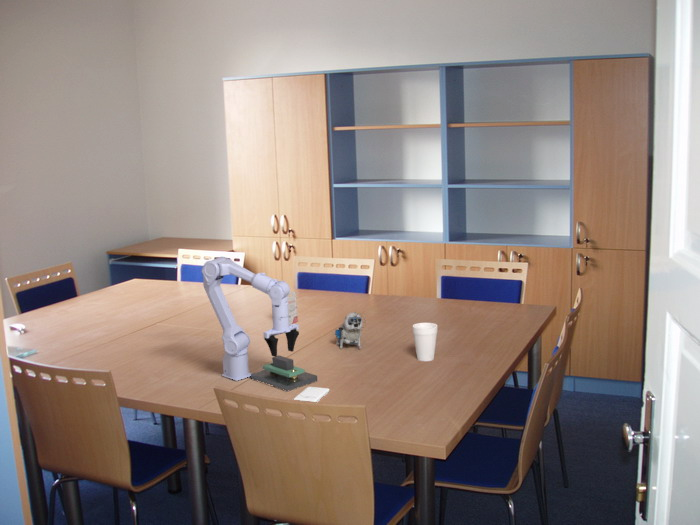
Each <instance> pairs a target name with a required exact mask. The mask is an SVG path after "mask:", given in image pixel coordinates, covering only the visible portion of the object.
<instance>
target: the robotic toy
mask: <svg viewBox="0 0 700 525" xmlns="http://www.w3.org/2000/svg"><path fill="white" fill-rule="evenodd" d="M360 315H361V313H360V312H358V313H357V312H355V311H353V312H349V313H347V315H346V316H345V317H344V321H343V323H342V324H341V325H340V327H338V329H335V330H334V335H335V336H336V338H337V339H336V343H335V344H336V346H339V349H340V350H343V344H346V345H357V348H358V349H359V350H360V349H362V346H361V338H362V332H363V328H365V326H363V323H366V320H365V317H364V316H360ZM362 317H363V319H362Z"/></svg>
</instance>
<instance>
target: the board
mask: <svg viewBox="0 0 700 525" xmlns="http://www.w3.org/2000/svg"><path fill="white" fill-rule="evenodd" d="M271 359H272V362H269V363H266V364H263V365H262V366H261V368H262V370H268V371H271V372H274V373H277V374H280V375H283V376H286V377H289V378H290V377H293V376H296V375H299V374H302V373H305V372H306V371H305V368H301V367H298V366H295V365H294V359H292V358H289V357H285V356H283V355H277V356H276V357H274V356H272V357H271ZM292 369H294V370H295V371H294V372H292Z"/></svg>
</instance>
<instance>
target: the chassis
mask: <svg viewBox="0 0 700 525" xmlns="http://www.w3.org/2000/svg"><path fill="white" fill-rule="evenodd" d="M294 371H295V370H294V369H292V372H294ZM251 378H252V379H254V380H253V381H255V380H258V381H261V382H264V383H267V384H270V385H273V386H275V387H278V388H281V389H284V390H286V391H285V392H289V391H288V390H290V391H292V390H291V389H293V390H295V389H294V388H296V389H298V388H297V387H299V388H302V387H304V386H303V385H305V386H307V385H306V384H308V385H310V384H313V383H316V382H318V375H316V374H313V373H310V372H306V371H305V373H302V374H299V375H296V376H293V377H290V378H289V377H286V376H283V375H280V374H277V373H274V372H271V371H268V370H265V369H262V370H259V371H256V372H252V373H251V377H250V379H251ZM252 379H251V380H252ZM258 381H257V382H258ZM315 381H316V382H315ZM261 382H260V383H261ZM312 382H313V383H312ZM309 383H310V384H309ZM301 386H302V387H301ZM275 387H274V388H275ZM278 388H277V389H278ZM281 389H280V390H281ZM284 390H283V391H284Z"/></svg>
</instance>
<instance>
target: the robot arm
mask: <svg viewBox="0 0 700 525" xmlns="http://www.w3.org/2000/svg"><path fill="white" fill-rule="evenodd" d="M201 273H202V276H203V277H202V278H203V280H202V282H203V284H202V286H203V289H204V290H205V293H206V296H207V298H208V300H209V302H210V304H211V306H212V309H213V310H214V313H215V315H216V317H217V319H218V322H219V324H220V327H221V328H222V336H221V340H222V342H223V350H224V354H223V356H222V368H223V371H222V372H223V373H222V374H221V376H222V377H224V378H227V379H229V378H230V380H232V379H233V381H236V382H239V381H242V380H244V379H248V378H251V377H250V376H251V374H252V373H251V372H250V371H249V370H250V369H249V354H248V352H249V351H248V347H249V346H250V344H251V338H250V336H249V335H248V334H247V332H246V331H245V330H244V328H243V327H242V326H241V325H238V323H237V321H236V319H235V316H234V314H233V312H232V310H231V308H230V306H229V302H228V301H227V298H226V296H225V294H224V292H223V289H222V288H221V284H222V281H223V279H224V277H225V276H229V275H231V276H234V277H236V278H239V279H240V280H241V279H242V280H244V281H246V282H249V283H250V284H251V286H252V288H254V289H256V290H258V291H260V292H262V293H264V294H265V295H268V296H269V299H270V300H271V309H272V310H271V311H272V328H270V329H268V330H266V331H263V332H262V333H263V339H264V341H265V342H266V344H267V346H268V349H269V351H270V353H271V356H272V357H276V356H278V342H279V338H277V337H276V336H279V335H282V334H285V337H286V341H287V342H286V344H287V351H289V352H294V349H295V345H296V341H297V338H298V337H299V335H300V332H299V330H300V324H298V323H293V324H290V325H289V309H288V296H287V295H288V294H289V293H291V287H290V284H288V282H286V281H285V280H279V281H278V279H277V278H273V277H270V276H268V275H267V273H266V272H258V273H254V272H252V271H250V270H248V269H247V268H245V267H244V266H241V265H239V264H237V262H235V261H233V260H232V259H231V258H227V257H225V256H219V257H218V256H217V258H214V259H211V260H207V261H206V262H205V263H204V264H203V266H202V268H201ZM286 296H287V297H286ZM247 377H248V378H247ZM241 379H242V380H241ZM238 380H239V381H238Z"/></svg>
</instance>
